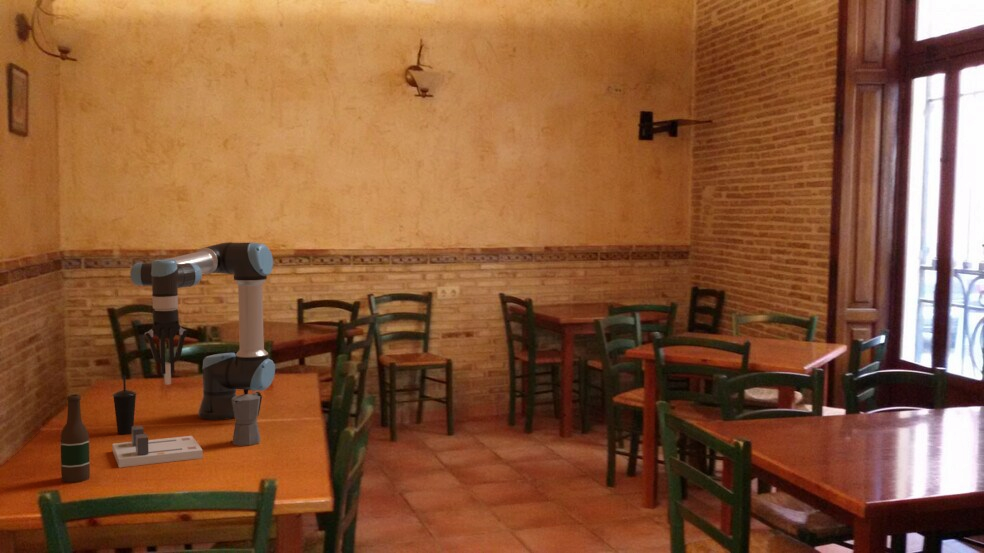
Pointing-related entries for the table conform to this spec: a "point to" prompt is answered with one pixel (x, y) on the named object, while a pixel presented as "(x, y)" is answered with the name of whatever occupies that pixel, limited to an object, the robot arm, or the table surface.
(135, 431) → the on lever
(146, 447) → the lever
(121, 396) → the drinking cup
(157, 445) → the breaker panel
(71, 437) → the beer bottle
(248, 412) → the coffeepot
